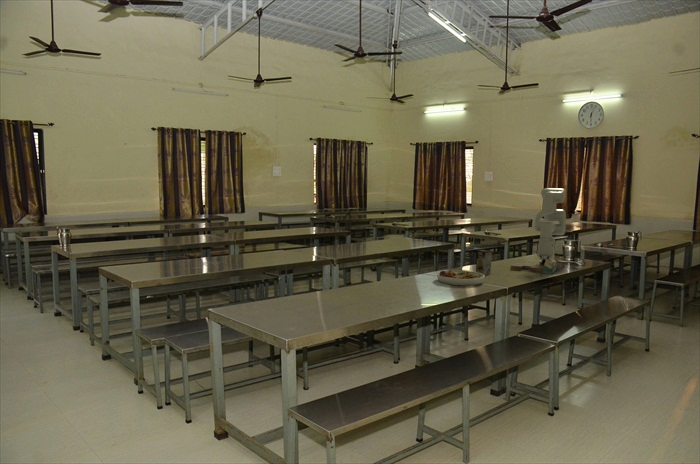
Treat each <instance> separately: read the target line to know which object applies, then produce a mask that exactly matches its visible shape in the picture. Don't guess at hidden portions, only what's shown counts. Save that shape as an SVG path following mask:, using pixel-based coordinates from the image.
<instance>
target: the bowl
mask: <svg viewBox="0 0 700 464" xmlns="http://www.w3.org/2000/svg"><path fill="white" fill-rule="evenodd" d="M436 277H437V279H438V281H439V282H441V283H443V284H445V285H450V286H458V285H460V286H459V287H463V286H464V287H466V286H467V287H469V286H471V285H472V286H478V285H480V284H482V283H483V282H484V281H485V277H486V276H485V274H481V273H477V272H476V271H471V270H458V269H457V270H453V269H449V270H441V271H438V272H437V273H436ZM472 286H471V287H472Z"/></svg>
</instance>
